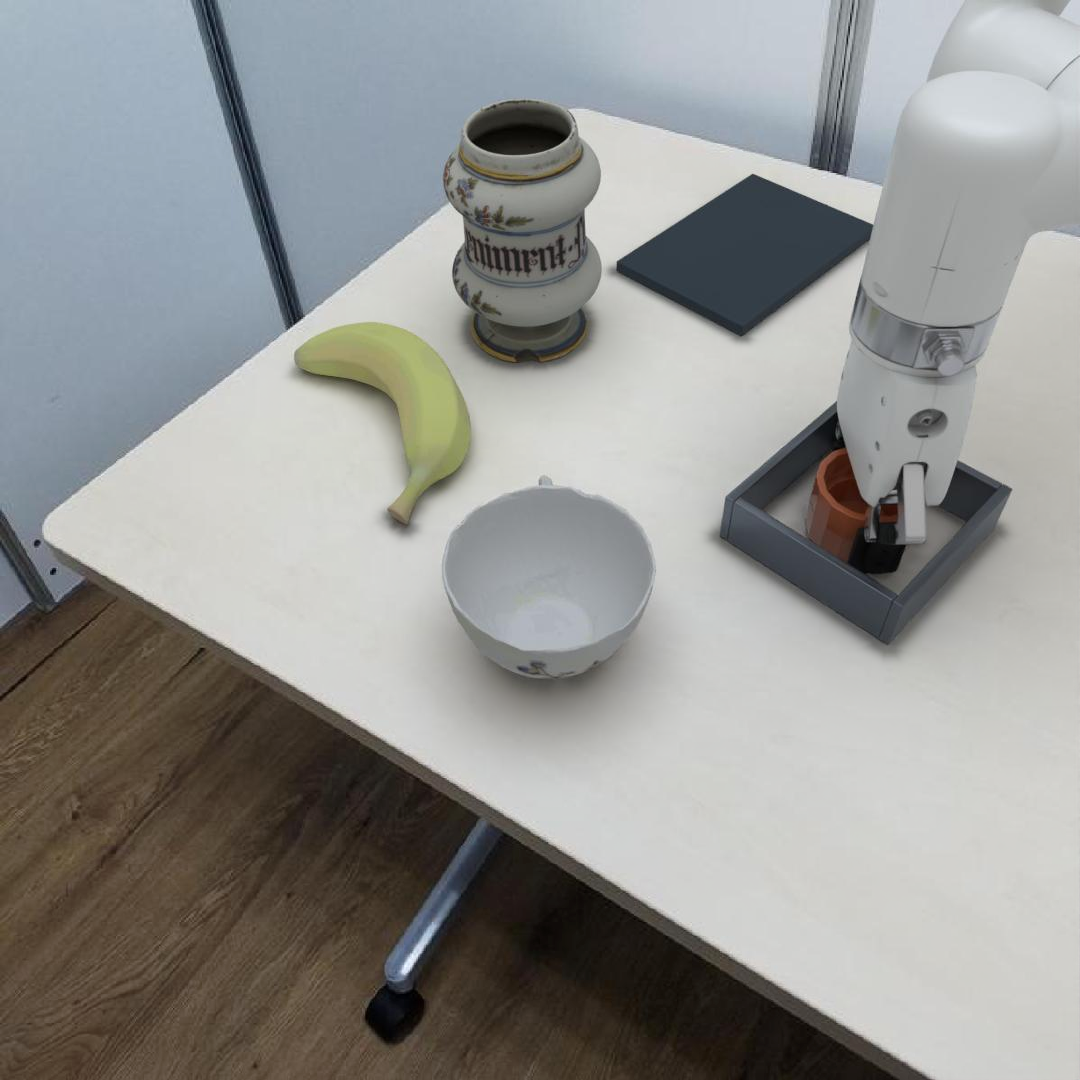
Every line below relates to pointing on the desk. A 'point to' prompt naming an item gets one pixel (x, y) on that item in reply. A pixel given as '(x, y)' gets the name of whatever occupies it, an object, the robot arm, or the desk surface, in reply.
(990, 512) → the square frame
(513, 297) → the apothecary jar
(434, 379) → the banana
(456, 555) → the teacup
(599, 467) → the desk surface
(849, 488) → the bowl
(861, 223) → the mat
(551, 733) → the desk surface
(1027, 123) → the robot arm
